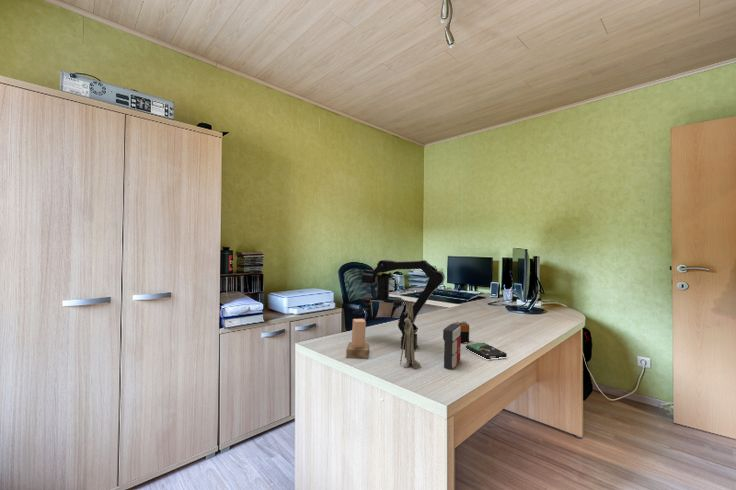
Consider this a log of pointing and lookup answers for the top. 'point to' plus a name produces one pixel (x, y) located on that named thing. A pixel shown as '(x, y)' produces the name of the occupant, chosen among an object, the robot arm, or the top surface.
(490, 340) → the top surface
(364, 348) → the walnut block
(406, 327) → the wizard figurine
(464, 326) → the battery
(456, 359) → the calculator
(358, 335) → the terracotta block
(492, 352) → the disk drive
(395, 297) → the robot arm
